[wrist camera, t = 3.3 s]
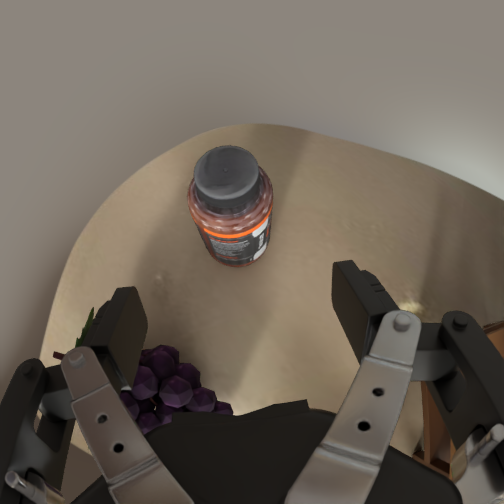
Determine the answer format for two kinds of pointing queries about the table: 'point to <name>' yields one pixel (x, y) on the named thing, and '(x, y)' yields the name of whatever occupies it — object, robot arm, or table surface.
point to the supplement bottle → (231, 205)
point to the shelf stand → (435, 431)
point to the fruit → (163, 387)
